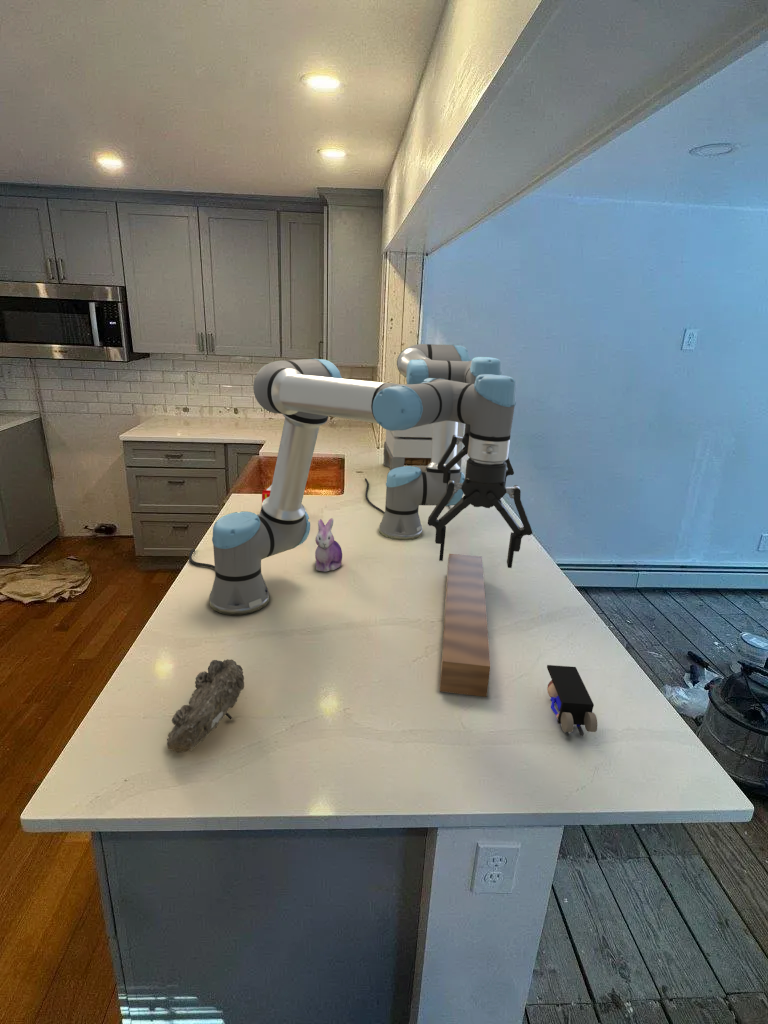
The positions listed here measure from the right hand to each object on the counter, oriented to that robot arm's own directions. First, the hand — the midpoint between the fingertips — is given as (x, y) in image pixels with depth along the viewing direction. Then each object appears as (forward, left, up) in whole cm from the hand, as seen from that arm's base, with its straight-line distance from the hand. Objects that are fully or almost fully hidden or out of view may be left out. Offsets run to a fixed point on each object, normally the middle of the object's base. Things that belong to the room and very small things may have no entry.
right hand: (472, 496), depth 154 cm
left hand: (+29, -32, 0) cm, 43 cm away
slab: (+14, -16, -27) cm, 35 cm away
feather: (-59, +55, -28) cm, 85 cm away
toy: (-80, -13, -27) cm, 85 cm away
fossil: (+8, -80, -27) cm, 85 cm away
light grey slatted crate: (-94, +73, -28) cm, 122 cm away
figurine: (-34, -24, -27) cm, 49 cm away
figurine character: (+50, -26, -27) cm, 63 cm away
